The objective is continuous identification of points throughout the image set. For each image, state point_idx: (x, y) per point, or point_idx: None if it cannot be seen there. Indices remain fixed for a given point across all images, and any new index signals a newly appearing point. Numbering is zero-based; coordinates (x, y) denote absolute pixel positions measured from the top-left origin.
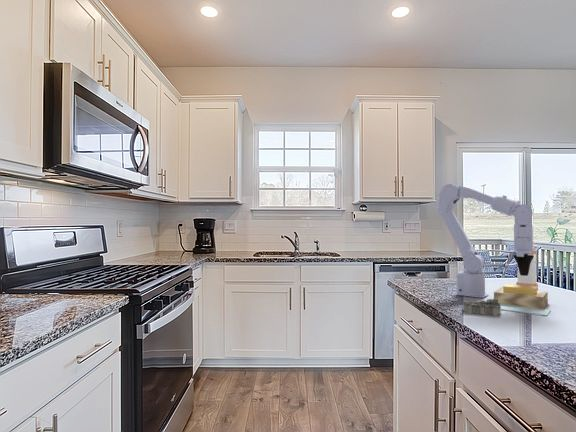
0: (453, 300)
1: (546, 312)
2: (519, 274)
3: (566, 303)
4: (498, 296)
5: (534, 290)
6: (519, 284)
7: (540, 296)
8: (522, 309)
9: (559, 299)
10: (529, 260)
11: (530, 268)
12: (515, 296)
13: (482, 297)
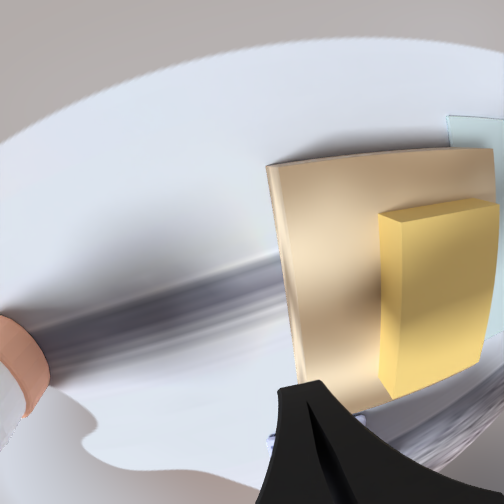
0: (445, 423)
1: (494, 126)
2: (8, 439)
3: (166, 92)
4: None
5: (491, 203)
6: (34, 402)
7: (480, 163)
8: (500, 212)
9: (66, 168)
10: (473, 488)
11: None
12: None
13: (364, 416)
